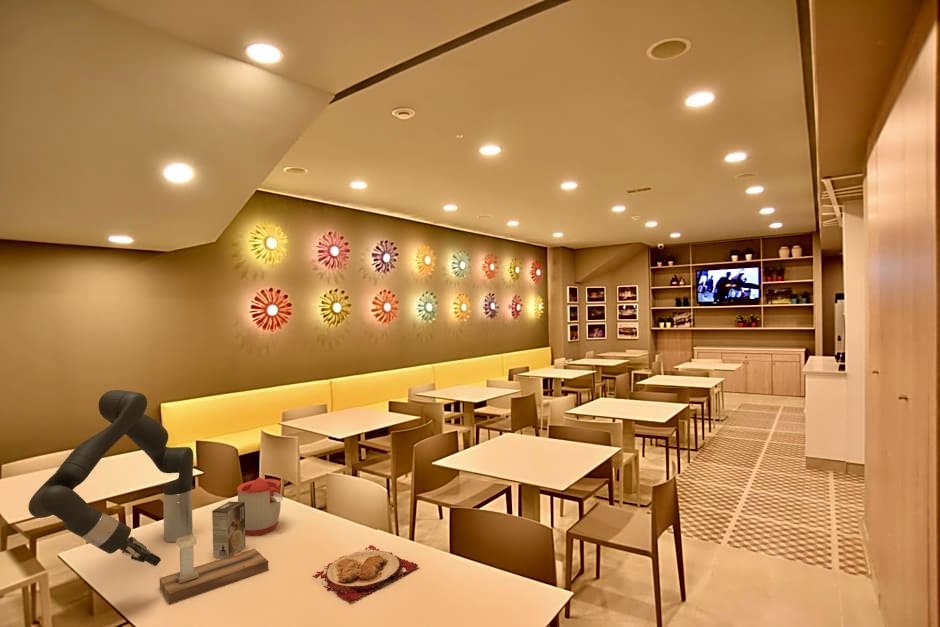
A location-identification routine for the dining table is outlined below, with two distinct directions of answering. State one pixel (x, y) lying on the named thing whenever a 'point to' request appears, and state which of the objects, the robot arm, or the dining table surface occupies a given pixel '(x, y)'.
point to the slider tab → (186, 558)
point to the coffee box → (228, 529)
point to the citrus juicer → (260, 505)
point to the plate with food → (363, 572)
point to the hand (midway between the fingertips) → (158, 562)
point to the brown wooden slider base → (214, 575)
